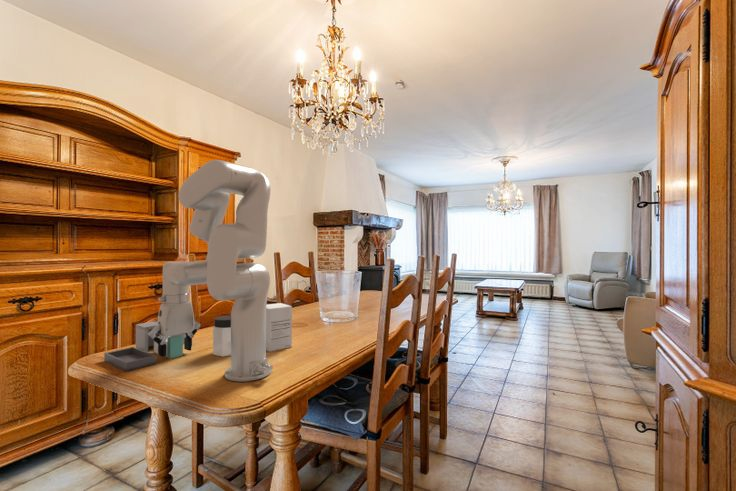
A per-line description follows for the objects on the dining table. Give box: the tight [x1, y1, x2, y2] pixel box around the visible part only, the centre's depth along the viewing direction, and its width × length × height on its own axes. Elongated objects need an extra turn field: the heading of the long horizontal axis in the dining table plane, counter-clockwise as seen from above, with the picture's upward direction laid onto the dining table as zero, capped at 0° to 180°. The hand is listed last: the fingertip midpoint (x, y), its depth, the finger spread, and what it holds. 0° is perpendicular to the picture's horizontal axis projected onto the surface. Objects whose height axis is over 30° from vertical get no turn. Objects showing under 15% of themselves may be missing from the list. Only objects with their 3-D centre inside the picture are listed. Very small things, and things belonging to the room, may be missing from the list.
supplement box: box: [266, 302, 293, 352], centre depth 124 cm, size 9×9×15 cm
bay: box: [135, 320, 186, 353], centre depth 125 cm, size 7×16×10 cm, turn 146°
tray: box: [103, 346, 157, 372], centre depth 107 cm, size 16×8×2 cm, turn 56°
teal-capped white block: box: [153, 335, 184, 360], centre depth 116 cm, size 11×4×6 cm, turn 56°
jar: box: [212, 314, 231, 358], centre depth 117 cm, size 9×8×12 cm
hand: (175, 352), depth 113 cm, fingers open, 7 cm apart
